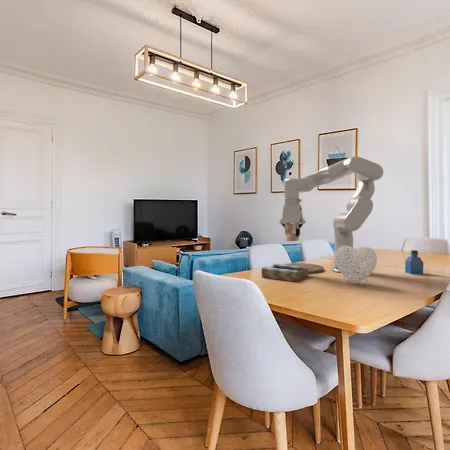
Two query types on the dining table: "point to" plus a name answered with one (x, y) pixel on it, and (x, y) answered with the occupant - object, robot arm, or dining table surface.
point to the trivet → (312, 267)
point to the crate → (285, 272)
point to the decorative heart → (355, 263)
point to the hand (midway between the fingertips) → (292, 235)
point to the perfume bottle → (414, 263)
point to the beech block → (291, 232)
